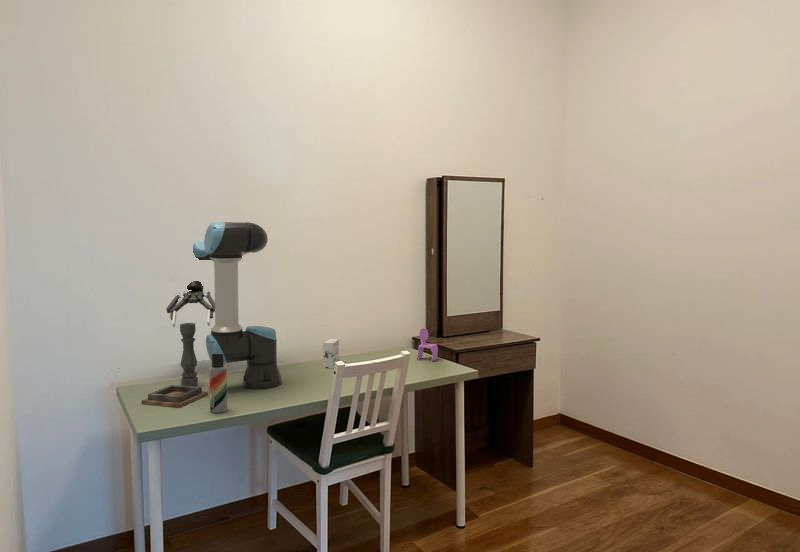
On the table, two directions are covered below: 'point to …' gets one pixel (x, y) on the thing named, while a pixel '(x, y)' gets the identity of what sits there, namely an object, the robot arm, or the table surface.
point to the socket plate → (175, 396)
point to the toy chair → (426, 345)
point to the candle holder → (188, 355)
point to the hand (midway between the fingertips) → (191, 324)
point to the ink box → (331, 352)
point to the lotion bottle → (218, 384)
